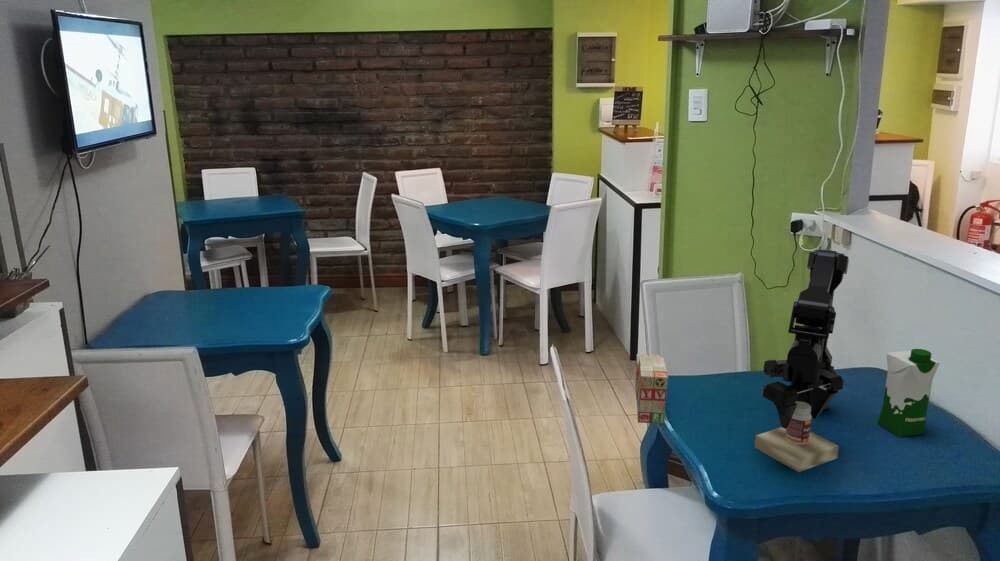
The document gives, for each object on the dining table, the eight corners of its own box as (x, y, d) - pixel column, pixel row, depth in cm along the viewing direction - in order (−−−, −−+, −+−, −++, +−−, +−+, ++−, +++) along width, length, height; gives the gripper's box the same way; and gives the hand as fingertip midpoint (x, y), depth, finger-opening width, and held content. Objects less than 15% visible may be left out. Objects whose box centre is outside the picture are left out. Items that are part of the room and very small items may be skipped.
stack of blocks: (634, 386, 198) (637, 342, 195) (658, 387, 197) (661, 343, 194) (637, 423, 178) (640, 375, 174) (664, 424, 177) (668, 376, 174)
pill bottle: (806, 447, 160) (811, 411, 158) (783, 441, 163) (787, 406, 160) (810, 438, 164) (815, 403, 162) (787, 433, 167) (792, 398, 164)
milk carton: (898, 439, 170) (912, 357, 164) (870, 421, 178) (883, 343, 173) (931, 435, 172) (946, 354, 166) (902, 418, 180) (915, 340, 175)
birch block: (791, 435, 172) (793, 423, 171) (837, 458, 162) (838, 445, 161) (754, 447, 166) (755, 435, 166) (798, 472, 156) (800, 459, 155)
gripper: (805, 336, 169) (797, 400, 173) (746, 351, 160) (739, 417, 164) (849, 352, 160) (839, 419, 164) (788, 369, 151) (780, 439, 155)
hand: (798, 423), depth 162 cm, fingers open, 9 cm apart
